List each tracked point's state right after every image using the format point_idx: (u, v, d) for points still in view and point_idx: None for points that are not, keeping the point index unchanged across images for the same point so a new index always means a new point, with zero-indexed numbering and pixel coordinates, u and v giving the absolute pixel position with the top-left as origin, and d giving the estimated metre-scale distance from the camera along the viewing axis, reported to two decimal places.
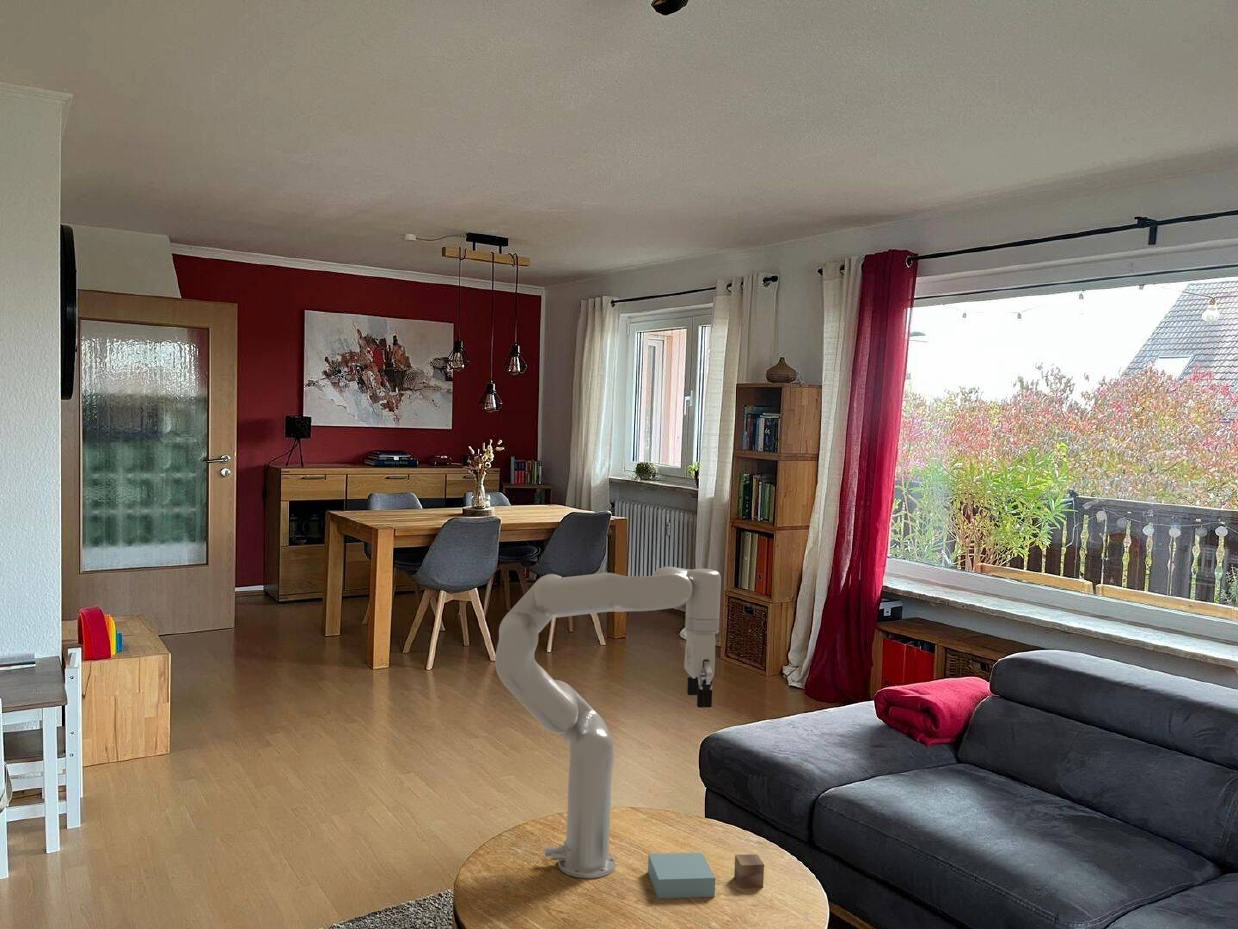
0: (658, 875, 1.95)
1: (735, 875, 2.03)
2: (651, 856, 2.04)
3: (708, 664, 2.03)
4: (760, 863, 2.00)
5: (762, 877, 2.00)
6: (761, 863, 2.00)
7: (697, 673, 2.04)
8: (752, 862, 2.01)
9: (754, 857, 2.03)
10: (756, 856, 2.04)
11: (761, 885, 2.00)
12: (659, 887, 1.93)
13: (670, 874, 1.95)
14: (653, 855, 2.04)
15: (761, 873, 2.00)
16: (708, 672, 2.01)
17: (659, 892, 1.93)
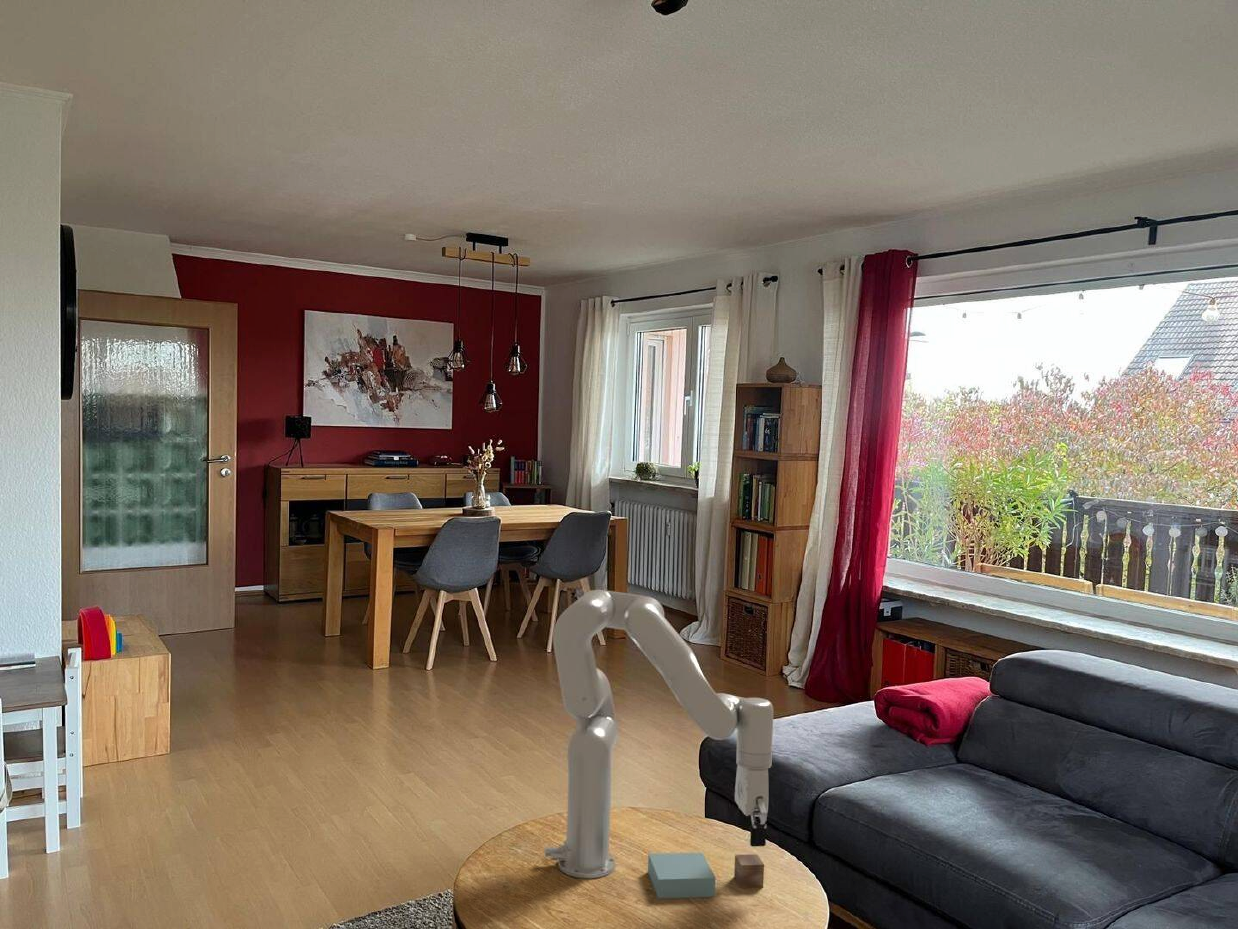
0: (658, 875, 1.95)
1: (735, 875, 2.03)
2: (651, 856, 2.04)
3: (762, 802, 1.95)
4: (760, 863, 2.00)
5: (762, 877, 2.00)
6: (761, 863, 2.00)
7: (750, 811, 1.96)
8: (752, 862, 2.01)
9: (754, 857, 2.03)
10: (756, 856, 2.04)
11: (761, 885, 2.00)
12: (659, 887, 1.93)
13: (670, 874, 1.95)
14: (653, 855, 2.04)
15: (761, 873, 2.00)
16: (763, 812, 1.93)
17: (659, 892, 1.93)
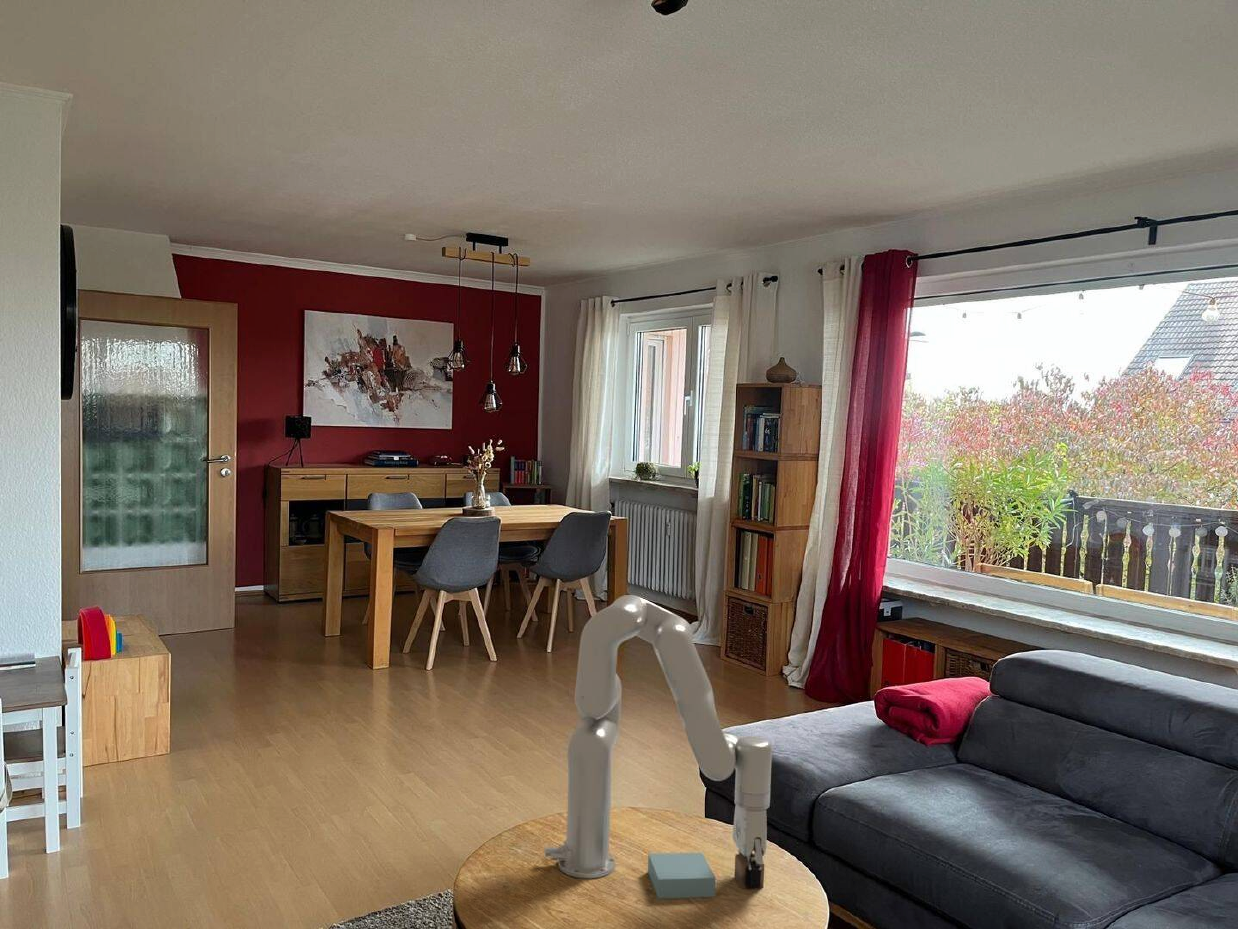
0: (658, 875, 1.95)
1: (735, 875, 2.03)
2: (651, 856, 2.04)
3: (759, 847, 1.96)
4: None
5: (762, 877, 2.00)
6: None
7: (748, 852, 1.96)
8: None
9: None
10: None
11: (761, 885, 2.00)
12: (659, 887, 1.93)
13: (670, 874, 1.95)
14: (653, 855, 2.04)
15: (761, 873, 2.00)
16: (759, 860, 1.95)
17: (659, 892, 1.93)
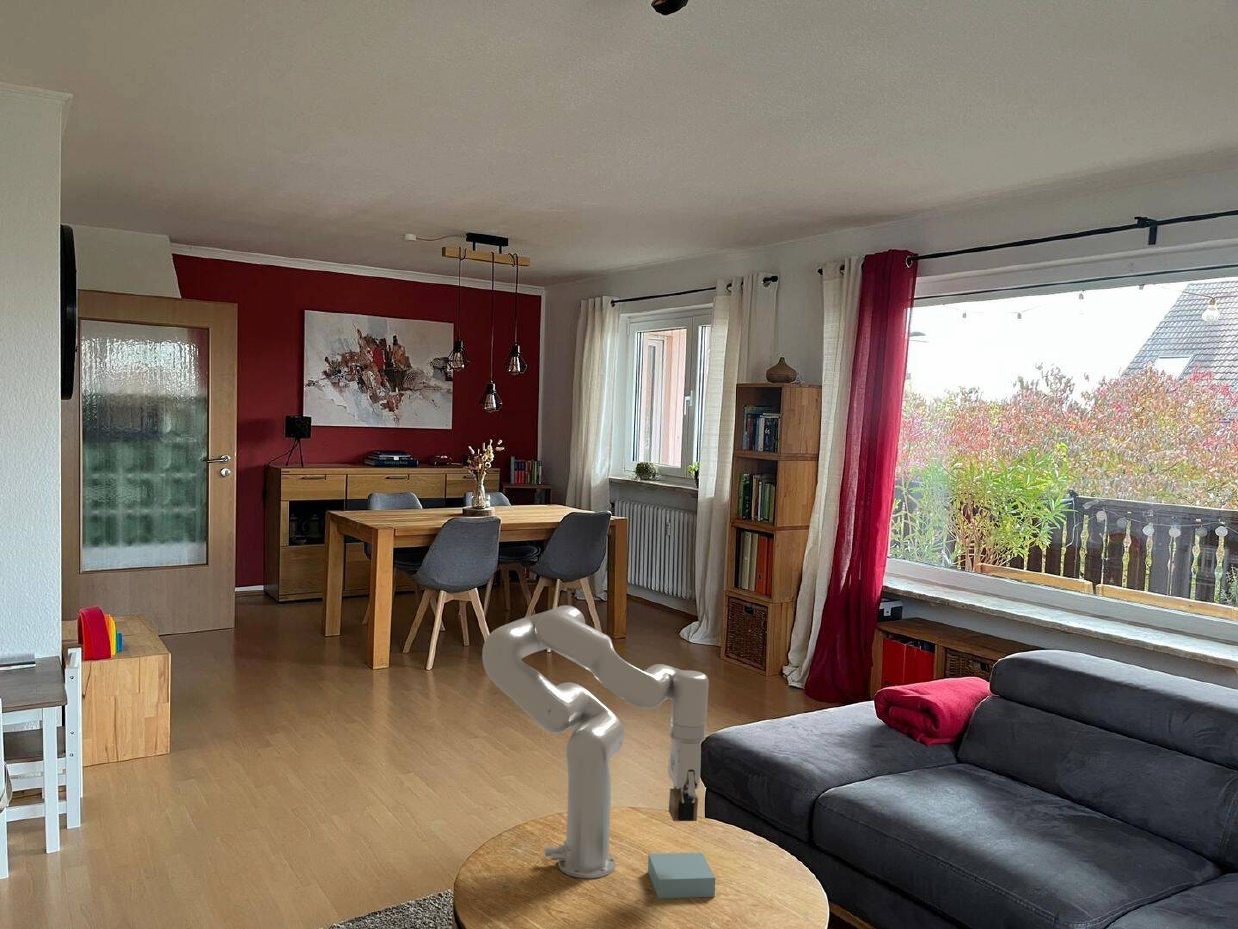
0: (658, 875, 1.95)
1: (669, 809, 2.01)
2: (651, 856, 2.04)
3: (692, 779, 1.94)
4: None
5: (696, 810, 1.97)
6: (695, 796, 1.98)
7: (681, 784, 1.94)
8: None
9: None
10: None
11: (694, 818, 1.97)
12: (659, 887, 1.93)
13: (670, 874, 1.95)
14: (653, 855, 2.04)
15: (695, 806, 1.97)
16: (691, 791, 1.92)
17: (659, 892, 1.93)
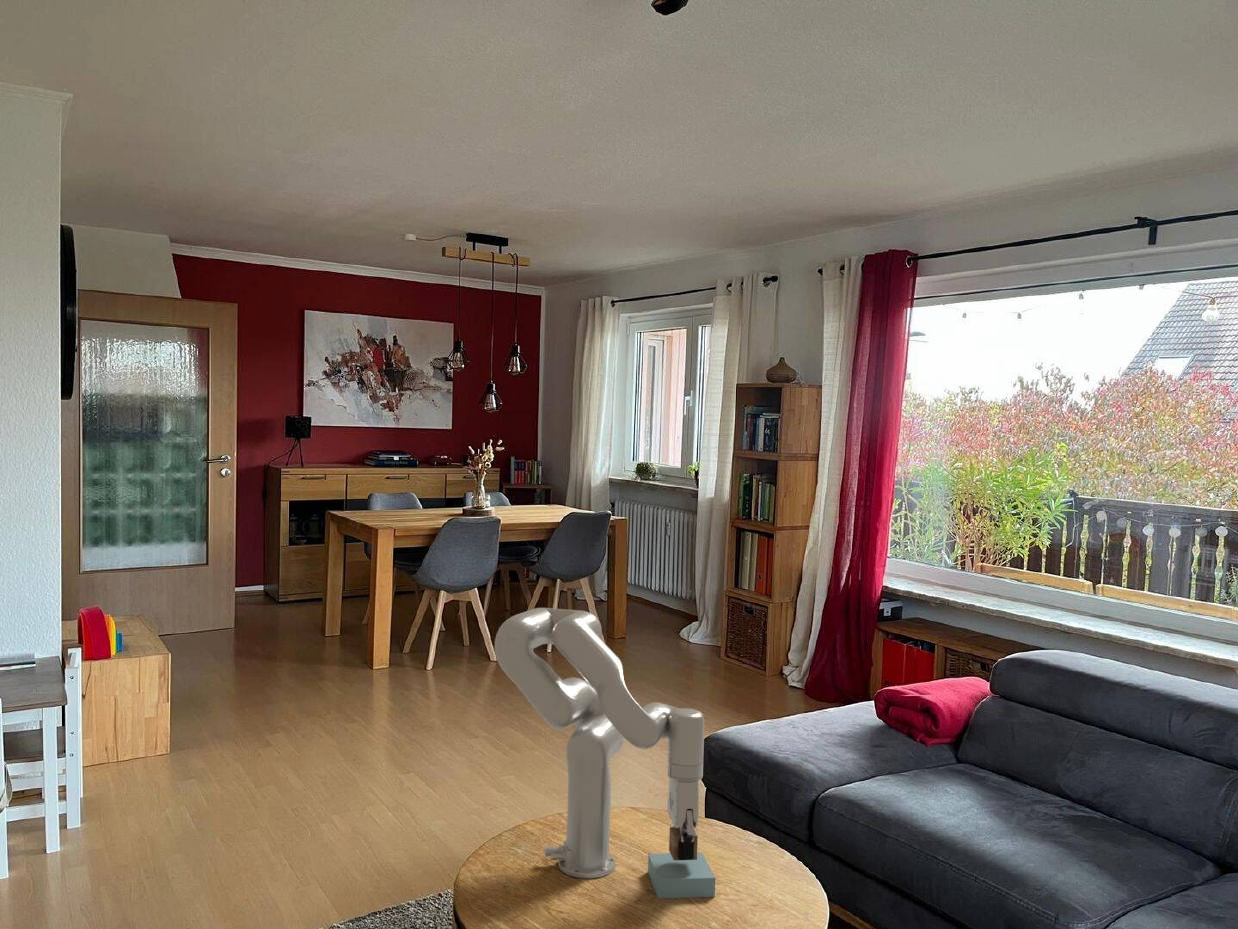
0: (658, 875, 1.95)
1: (669, 848, 2.01)
2: (651, 856, 2.04)
3: (691, 818, 1.94)
4: (694, 835, 1.98)
5: (696, 849, 1.97)
6: (695, 835, 1.98)
7: (680, 823, 1.94)
8: None
9: None
10: None
11: (695, 857, 1.97)
12: (659, 887, 1.93)
13: (670, 874, 1.95)
14: (653, 855, 2.04)
15: (695, 845, 1.97)
16: (690, 831, 1.92)
17: (659, 892, 1.93)
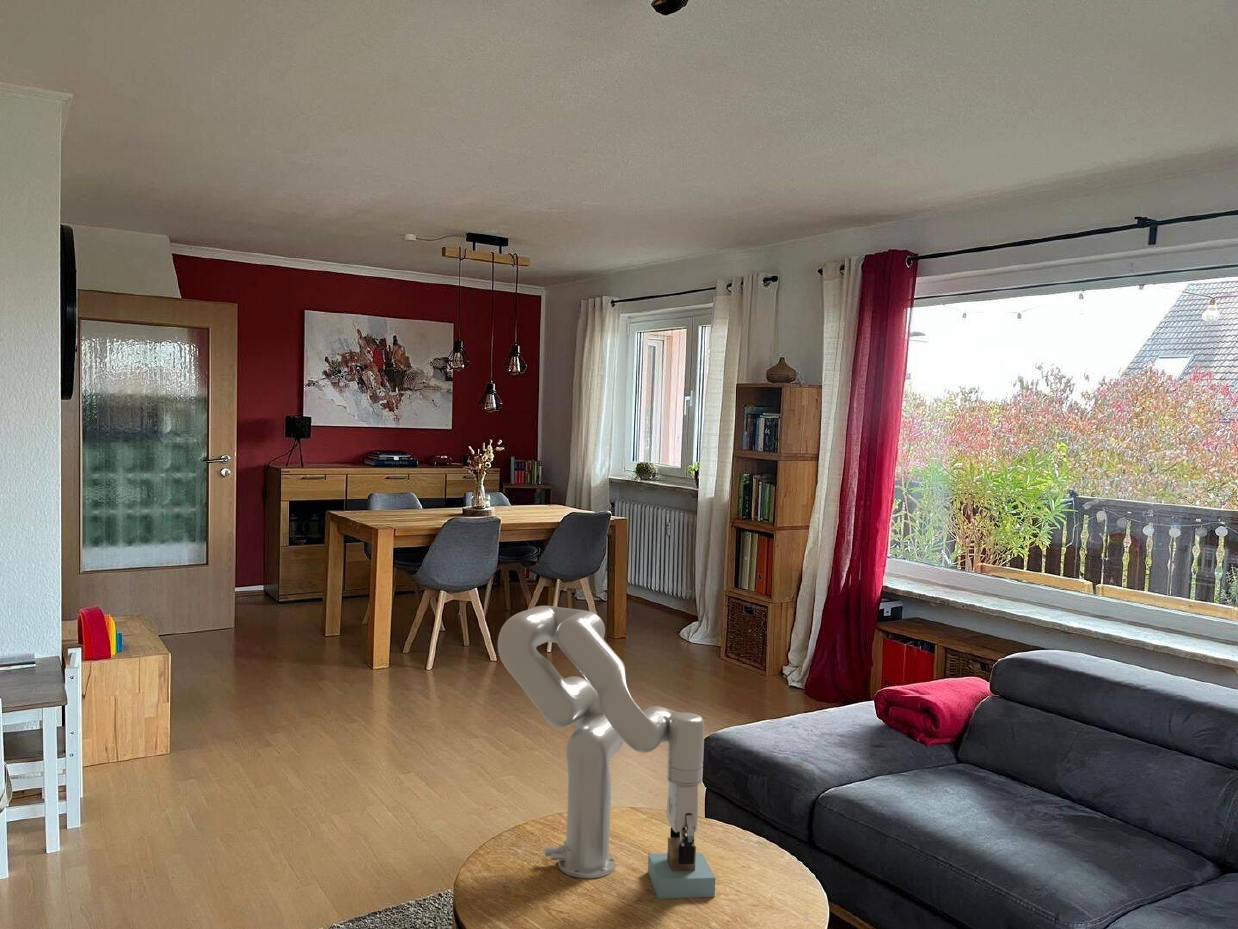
0: (658, 875, 1.95)
1: (667, 858, 2.01)
2: (651, 856, 2.04)
3: (690, 820, 1.93)
4: None
5: (694, 860, 1.97)
6: None
7: (679, 828, 1.94)
8: None
9: None
10: None
11: (693, 868, 1.97)
12: (659, 887, 1.93)
13: (670, 874, 1.95)
14: (653, 855, 2.04)
15: None
16: (690, 831, 1.91)
17: (659, 892, 1.93)
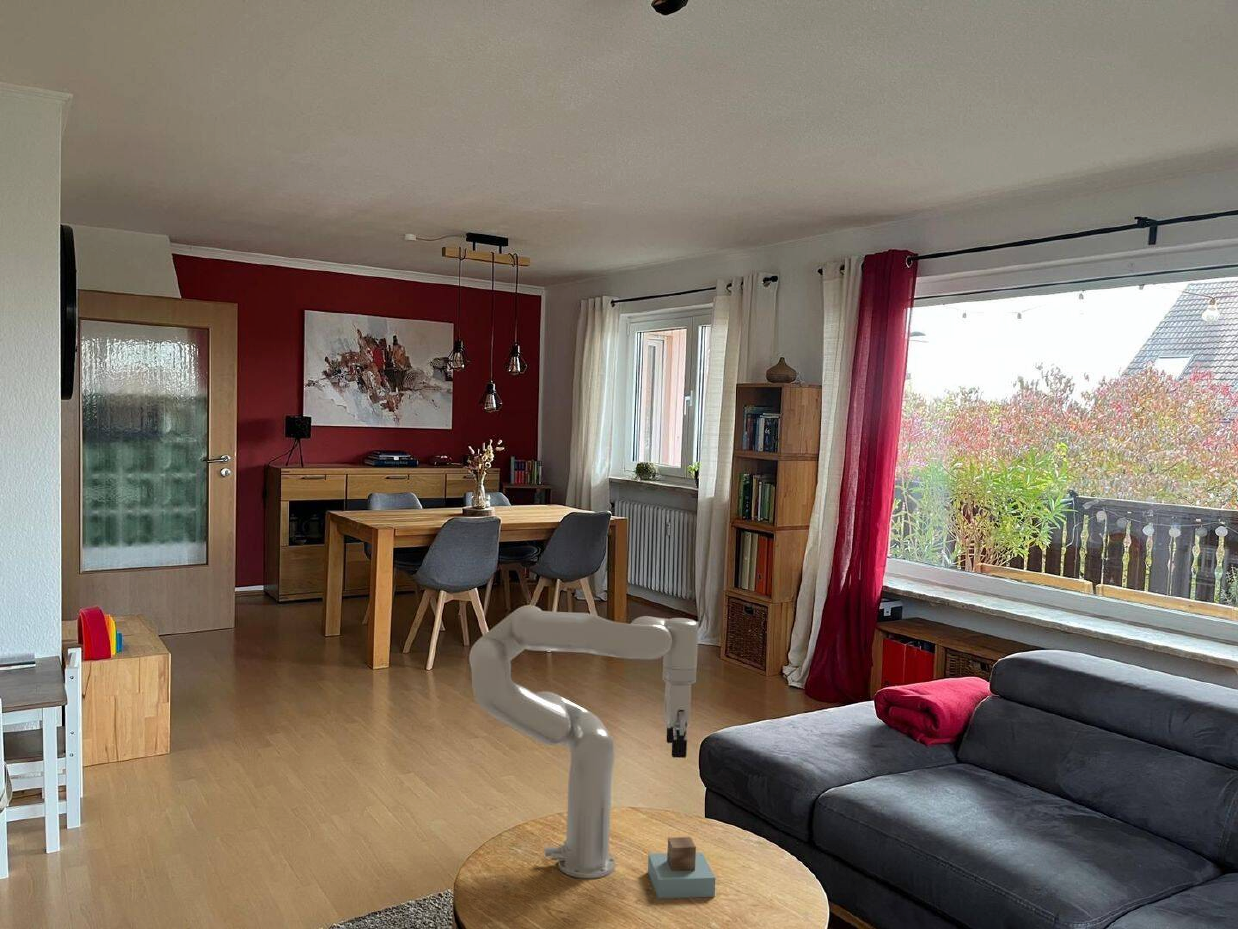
0: (658, 875, 1.95)
1: (667, 858, 2.01)
2: (651, 856, 2.04)
3: (682, 715, 2.04)
4: (692, 846, 1.98)
5: (694, 860, 1.97)
6: (693, 846, 1.98)
7: (672, 723, 2.05)
8: (684, 844, 1.98)
9: (687, 840, 2.01)
10: (689, 839, 2.01)
11: (693, 868, 1.97)
12: (659, 887, 1.93)
13: (670, 874, 1.95)
14: (653, 855, 2.04)
15: (693, 856, 1.97)
16: (681, 723, 2.02)
17: (659, 892, 1.93)
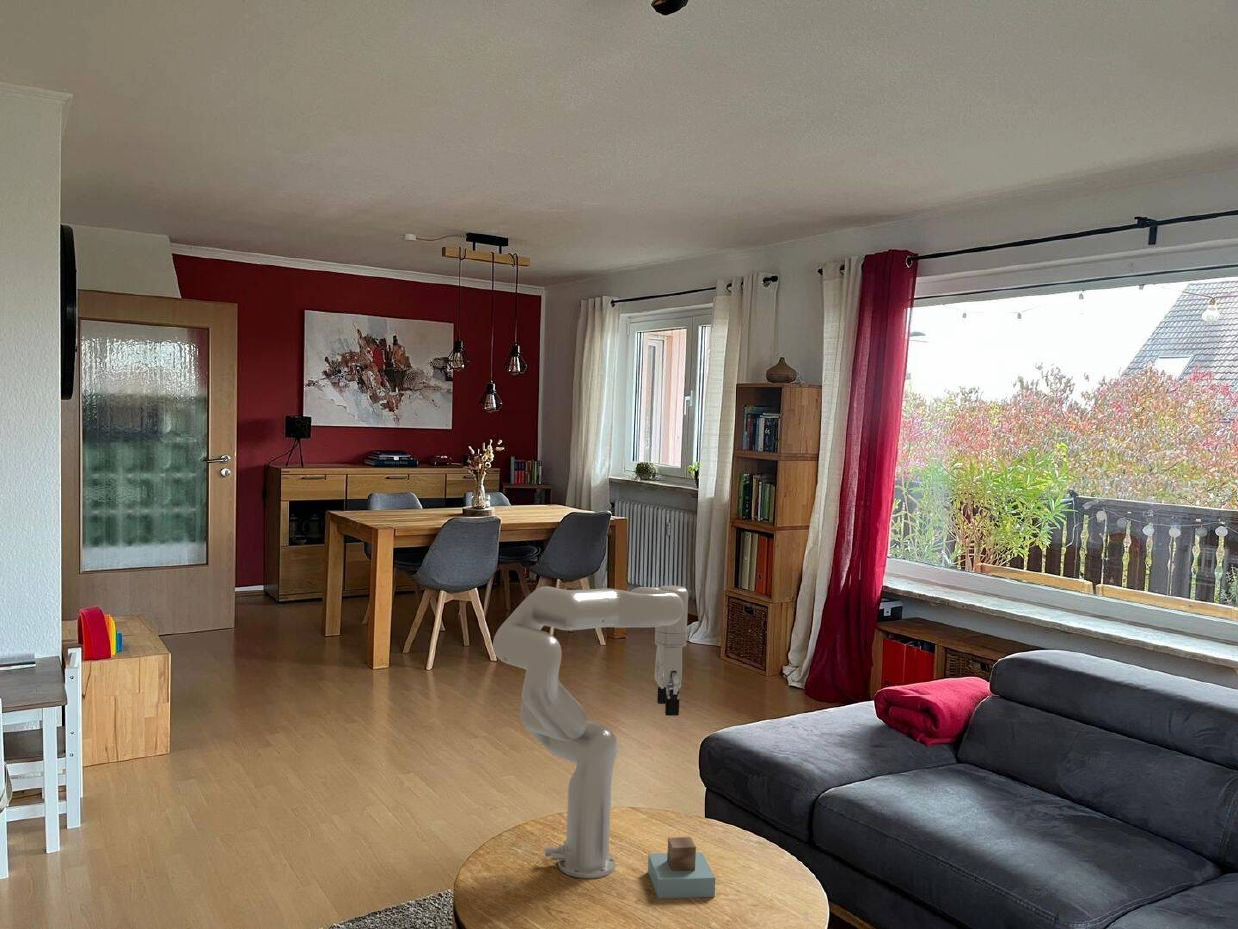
0: (658, 875, 1.95)
1: (667, 858, 2.01)
2: (651, 856, 2.04)
3: (675, 675, 2.18)
4: (692, 846, 1.98)
5: (694, 860, 1.97)
6: (693, 846, 1.98)
7: (665, 683, 2.18)
8: (684, 844, 1.98)
9: (687, 840, 2.01)
10: (689, 839, 2.01)
11: (693, 868, 1.97)
12: (659, 887, 1.93)
13: (670, 874, 1.95)
14: (653, 855, 2.04)
15: (693, 856, 1.97)
16: (675, 683, 2.15)
17: (659, 892, 1.93)
